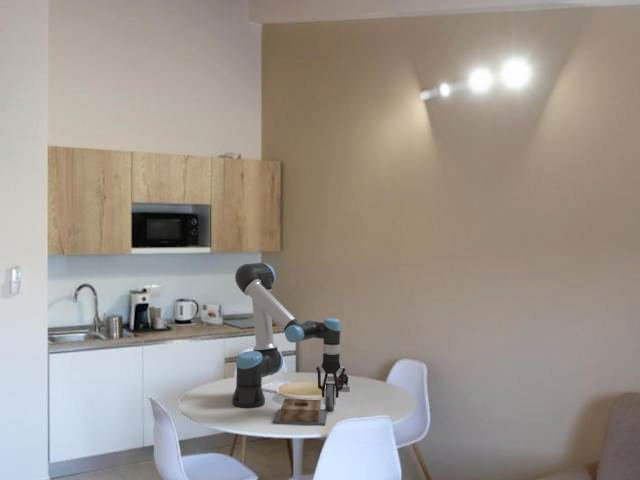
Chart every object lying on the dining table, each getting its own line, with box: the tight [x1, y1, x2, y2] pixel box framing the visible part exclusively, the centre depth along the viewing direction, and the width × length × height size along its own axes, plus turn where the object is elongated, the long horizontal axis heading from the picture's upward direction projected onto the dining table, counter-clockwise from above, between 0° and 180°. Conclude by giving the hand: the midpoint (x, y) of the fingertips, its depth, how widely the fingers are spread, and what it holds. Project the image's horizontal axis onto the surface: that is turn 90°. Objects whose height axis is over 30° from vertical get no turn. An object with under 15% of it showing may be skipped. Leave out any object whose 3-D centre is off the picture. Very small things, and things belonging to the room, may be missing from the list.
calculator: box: [261, 379, 295, 394], centre depth 344 cm, size 13×20×2 cm, turn 148°
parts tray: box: [326, 375, 351, 392], centre depth 351 cm, size 13×22×2 cm, turn 177°
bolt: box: [333, 373, 349, 386], centre depth 350 cm, size 6×5×15 cm
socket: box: [272, 398, 328, 426], centre depth 292 cm, size 22×18×6 cm
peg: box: [324, 382, 335, 412], centre depth 306 cm, size 4×4×12 cm
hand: (329, 404), depth 306 cm, fingers closed on peg, 4 cm apart
